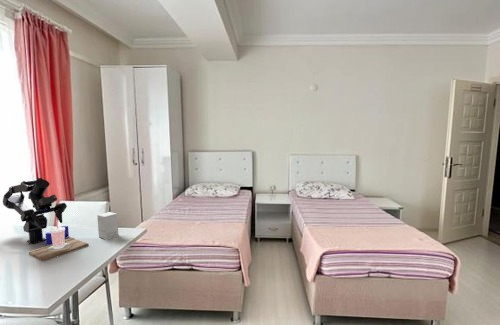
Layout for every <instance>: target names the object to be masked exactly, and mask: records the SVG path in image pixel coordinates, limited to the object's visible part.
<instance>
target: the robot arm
mask: <svg viewBox="0 0 500 325" xmlns="http://www.w3.org/2000/svg"><path fill="white" fill-rule="evenodd" d="M49 186H50V182H49V181H48V180H46V179H44V178H43V177H37V178H36V179H35V178H34V179H29V180H23V181H21V182H20V184H17V185H11V186H9V187H8V191H6V193H5V194H3V198H2V204H3V206H4V207H6V208H7V209H9V210H10V209H11V210H15V211H16V212H17V213H18V214H19V216H20V220H21V222H22V223H23V222H25V223H24V225H23V227H22V228H23V232H26V233H28V239H29V240H26V243H29V244H31V245H34V244H36V243H41V242H44V241H46V237H45V238H44V234H43V229H47V227H48V218H47V217H46V216H45V215H44V214H47V213H51V212H53V213H54V214H55V217H56V219H57V220H58V222H59V223H60V224H62V223H63V213H64V212H65V210H66V209H67V206H68V205H67V204H66V202H60V203H56V204H55V206H54V207H52V206H53V204H54V203H55V202H56V201H58V198H57V195H56V194H51V195H49V196H46V197H45V194H46V192H47V191H48V188H49ZM19 193H20V194H19ZM24 193H28V197H27V199H28V200H30V201H31V203H32V208H30V207H28V206H27V205H26V203H25V202H24V201H25V195H24ZM13 194H17V195H13ZM34 209H35V210H34Z"/></svg>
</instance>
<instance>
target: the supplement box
mask: <svg viewBox="0 0 500 325" xmlns="http://www.w3.org/2000/svg"><path fill="white" fill-rule="evenodd" d="M118 221H119V219H118V213H116V212H111V211H108V212H104V213H100V214H97V228H98V229H97V230H98V238H99V239H103V240H105V241H107V240H110V239H113V238H115V237H119V222H118Z"/></svg>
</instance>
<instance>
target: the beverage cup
mask: <svg viewBox="0 0 500 325" xmlns="http://www.w3.org/2000/svg"><path fill="white" fill-rule="evenodd" d="M58 222H59V220H58V218H56V227H53V228H51V229H50V230H49V233H51V236H52V242H53V249H60V248H63V247H64V246H65V240H66V238H65V227H62V226H59V225H58V224H59V223H58Z"/></svg>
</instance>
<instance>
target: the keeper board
mask: <svg viewBox="0 0 500 325" xmlns="http://www.w3.org/2000/svg"><path fill="white" fill-rule="evenodd" d="M86 246H87V247H89V243H87V242H85V241H83V240H79V239H75V237H71V238H69V239H65V246H64V247H63V248H60V249H53V244H52V245H46V246H42V247H39V248H37V249H33V250H30V251H28V255H29V256H31V257H33V258H35V259H38V260H40V261H42V262H45V261H49V260H52V259H55V258H57V256H58V257H60V256H63V255H66V254H70V253H72V252H74V251H78V250H80V249H83V247H84V248H86Z"/></svg>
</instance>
